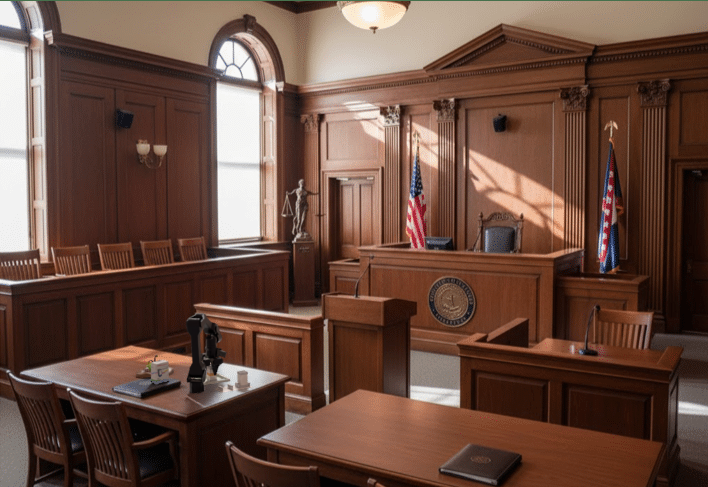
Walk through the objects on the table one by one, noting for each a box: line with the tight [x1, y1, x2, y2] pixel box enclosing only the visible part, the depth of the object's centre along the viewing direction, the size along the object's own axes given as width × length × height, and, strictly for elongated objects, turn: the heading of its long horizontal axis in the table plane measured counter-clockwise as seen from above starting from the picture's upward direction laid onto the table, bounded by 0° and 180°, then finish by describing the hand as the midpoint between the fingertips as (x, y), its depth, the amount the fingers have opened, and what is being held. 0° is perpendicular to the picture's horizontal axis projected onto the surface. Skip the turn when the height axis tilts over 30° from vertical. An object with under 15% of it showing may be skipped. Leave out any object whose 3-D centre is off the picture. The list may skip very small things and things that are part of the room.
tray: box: [193, 372, 231, 386], centre depth 368 cm, size 15×15×2 cm
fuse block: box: [215, 381, 253, 394], centre depth 352 cm, size 18×9×3 cm, turn 126°
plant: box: [135, 354, 175, 379], centre depth 385 cm, size 20×20×11 cm
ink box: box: [150, 359, 170, 382], centre depth 366 cm, size 9×5×12 cm, turn 143°
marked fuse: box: [206, 365, 218, 382], centre depth 368 cm, size 4×4×8 cm
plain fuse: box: [236, 370, 249, 388], centre depth 355 cm, size 4×4×8 cm
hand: (211, 373), depth 368 cm, fingers open, 9 cm apart
